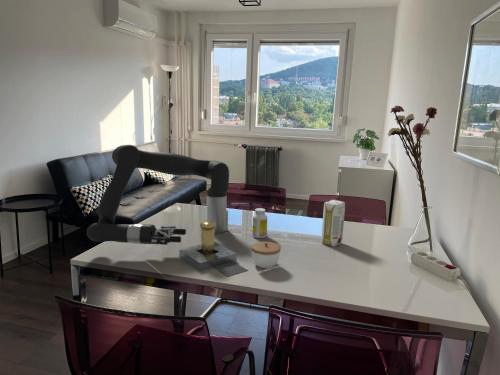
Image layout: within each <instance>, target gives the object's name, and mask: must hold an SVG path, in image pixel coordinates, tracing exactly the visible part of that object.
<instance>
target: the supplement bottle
mask: <svg viewBox="0 0 500 375" xmlns="http://www.w3.org/2000/svg"><path fill="white" fill-rule="evenodd" d="M267 236H268V215H267V214H266V209H265V208H261V207H260V208H259V207H258V208H255V209H254V214H253V216H252V237H253V238H256V239H265V238H266V237H267Z"/></svg>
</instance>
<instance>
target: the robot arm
mask: <svg viewBox="0 0 500 375" xmlns="http://www.w3.org/2000/svg"><path fill="white" fill-rule="evenodd" d="M111 153H112V154H111V158H112V161H113V163H114V164H115V165H116V167H115V169H114V174H113V176H112V178H111V180H110V182H109V183H108V185H107V187H106V189H105V191H104V192H103V194H102V197H101V199H100V203H99V205H98V207H97V211H96V212H97V216H98V221H97V222H95V223H91V225H89V226H88V227H87V229H86V236H87V238H88V239H89V240H90V241H93V242H98V243H99V242H101V243H102V242H117V243H127V244H128V243H129V244H135V245H138V244H139V245H161V246H162V245H163V246H164V245H165V246H168V244H171V243H179V244H180V243H181V241H182V236H185V235H186V234H187V230H186V228H177V226H175V225H172V226H171V225H169V226H168V225H166V226H164V225H161V226H160V228H157V227H156V225H154V224H146V223H143V224H142V223H141V224H139V223H133V224H130V223H129V224H128V223H127V224H126V223H125V224H123V223H121V224H120V223H119V224H115V223H116V222H115V221H116V216H117V212H118V210H119V207H120V204H121V202H122V199H123V196H124V193H125V191H126V188H127V186H128V184H129V181H130V179H131V177H132V175H133V174H134V171H135V170H136V169H144V170H150V171H153V172H156V173H161V174H166V175H173V176H181V177H182V176H198V177H202V178H206V179H208V180H210V187H209V188H208V189H207V190H206V221H207V220H209V221H214V222H216V227H215V228H214V234H219V233H220V234H221V233H225V232H226V231H228V230H229V211H228V210H227V201H228V200H227V197H228V196H227V195H228V194H227V193H228V190H229V182H230V169H229V167H228V165H227V164H226V163H224V162H222V161H218V160H212V159H211V160H207V159H197V158H193V157H190V156H187V155H183V154H180V153H179V154H178V153H174V152H163V151H145V150H141V149H139V148H138V147H137V146H135V145H133V144H123V145H119V146H117V147H115V148H114V149H113V150H112V152H111Z"/></svg>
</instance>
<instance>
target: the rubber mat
mask: <svg viewBox="0 0 500 375" xmlns="http://www.w3.org/2000/svg"><path fill="white" fill-rule="evenodd" d="M213 269H215V270H216V271H218V272H220V273H221V274H222V275H224V276H226V277H227V278H229V277H232V276H235V275H239V274H243V273H245V272H248V271H249V269H247V268H245V267H243V265H240V264H238V263H237V262H236V261H235V262H231V263H227V264H224V265H220V266H217V267H213Z"/></svg>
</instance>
